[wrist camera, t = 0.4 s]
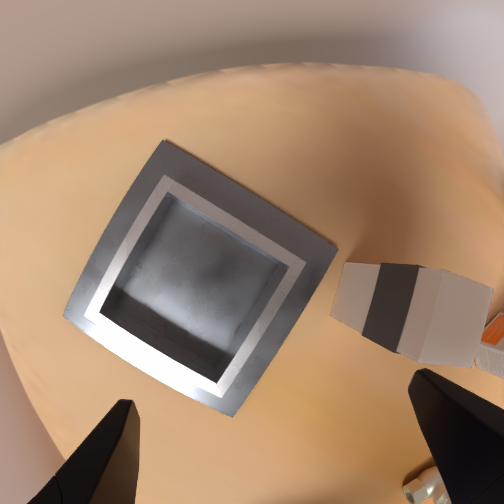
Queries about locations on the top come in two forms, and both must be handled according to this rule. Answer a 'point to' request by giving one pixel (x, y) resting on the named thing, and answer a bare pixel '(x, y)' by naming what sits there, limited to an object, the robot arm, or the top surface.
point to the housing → (197, 280)
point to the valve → (427, 488)
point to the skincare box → (492, 347)
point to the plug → (414, 310)
